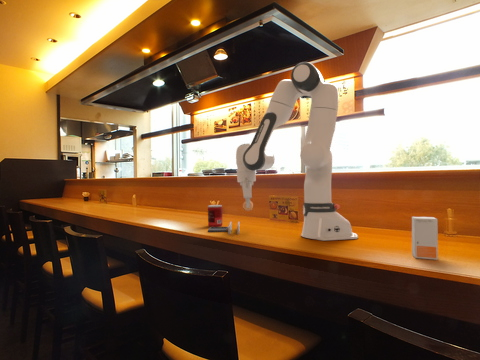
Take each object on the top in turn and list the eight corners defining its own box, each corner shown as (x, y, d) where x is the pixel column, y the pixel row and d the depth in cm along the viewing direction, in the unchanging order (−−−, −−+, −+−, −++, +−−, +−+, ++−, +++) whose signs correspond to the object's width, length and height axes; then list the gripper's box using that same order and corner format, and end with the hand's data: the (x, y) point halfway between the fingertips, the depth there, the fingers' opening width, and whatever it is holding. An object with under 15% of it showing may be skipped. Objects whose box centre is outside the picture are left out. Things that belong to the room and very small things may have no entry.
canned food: (223, 224, 161) (223, 204, 161) (221, 227, 153) (220, 206, 153) (209, 224, 162) (209, 204, 162) (206, 227, 154) (206, 206, 154)
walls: (239, 228, 147) (239, 221, 147) (238, 234, 131) (238, 226, 131) (230, 228, 148) (230, 221, 148) (228, 234, 132) (228, 226, 132)
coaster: (228, 228, 147) (228, 226, 147) (226, 231, 138) (226, 229, 138) (210, 229, 147) (210, 227, 147) (207, 232, 138) (207, 230, 138)
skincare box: (414, 258, 86) (413, 218, 86) (411, 255, 90) (411, 216, 90) (438, 260, 84) (437, 218, 84) (434, 256, 88) (434, 216, 88)
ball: (253, 210, 141) (252, 199, 141) (253, 211, 136) (253, 200, 136) (243, 210, 141) (242, 200, 142) (243, 211, 136) (242, 201, 137)
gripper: (253, 177, 129) (255, 208, 129) (252, 178, 149) (254, 205, 149) (239, 178, 129) (241, 209, 129) (240, 179, 149) (241, 206, 149)
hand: (248, 207), depth 139 cm, fingers closed on ball, 5 cm apart
